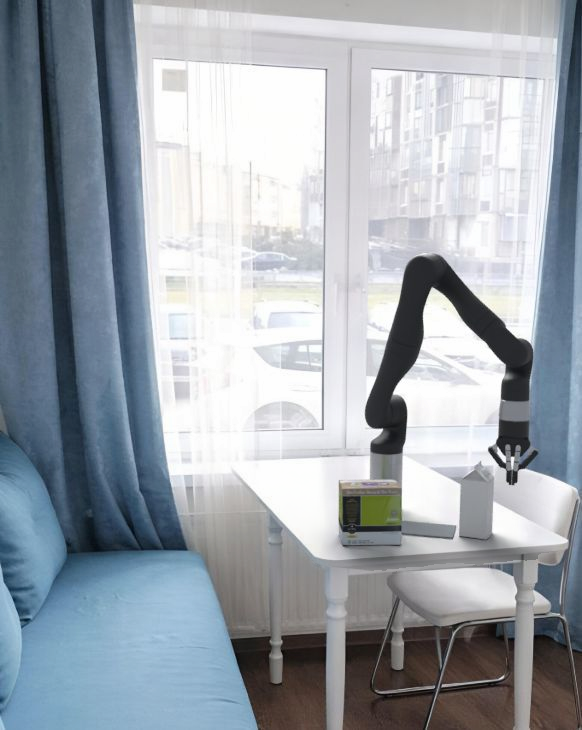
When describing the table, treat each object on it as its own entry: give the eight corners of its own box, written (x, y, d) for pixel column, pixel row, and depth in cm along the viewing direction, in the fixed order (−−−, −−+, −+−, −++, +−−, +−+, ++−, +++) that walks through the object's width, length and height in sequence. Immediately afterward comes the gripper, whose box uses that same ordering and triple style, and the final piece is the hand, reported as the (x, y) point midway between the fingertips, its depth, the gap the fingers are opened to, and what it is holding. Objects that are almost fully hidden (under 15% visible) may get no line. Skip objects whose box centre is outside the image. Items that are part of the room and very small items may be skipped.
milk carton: (458, 536, 213) (460, 464, 211) (465, 529, 220) (467, 458, 218) (486, 540, 210) (488, 467, 208) (492, 532, 216) (494, 461, 215)
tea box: (395, 533, 215) (396, 478, 213) (401, 546, 205) (403, 487, 203) (337, 533, 214) (338, 478, 213) (341, 546, 204) (342, 487, 203)
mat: (385, 520, 227) (385, 519, 226) (455, 526, 222) (455, 525, 221) (378, 532, 216) (378, 530, 216) (452, 538, 211) (452, 537, 211)
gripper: (541, 416, 211) (538, 483, 213) (487, 413, 215) (485, 479, 217) (541, 421, 204) (538, 490, 206) (486, 418, 208) (484, 486, 209)
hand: (511, 484), depth 211 cm, fingers closed
